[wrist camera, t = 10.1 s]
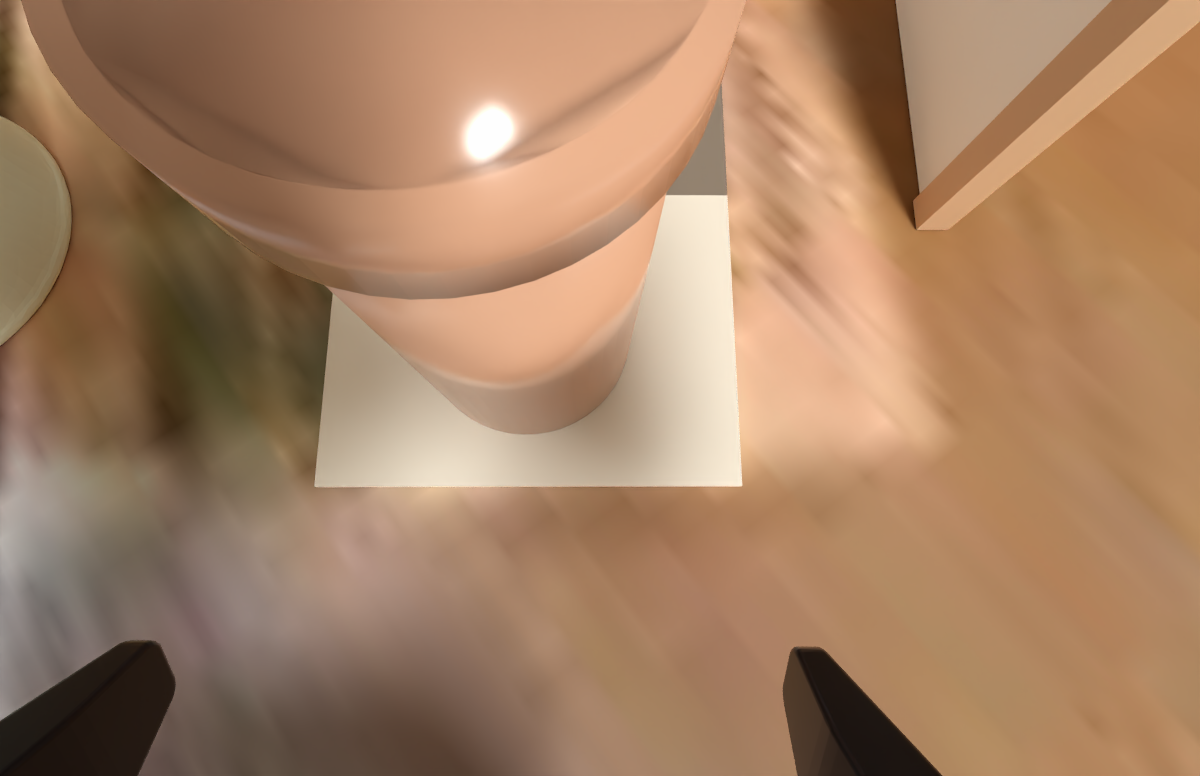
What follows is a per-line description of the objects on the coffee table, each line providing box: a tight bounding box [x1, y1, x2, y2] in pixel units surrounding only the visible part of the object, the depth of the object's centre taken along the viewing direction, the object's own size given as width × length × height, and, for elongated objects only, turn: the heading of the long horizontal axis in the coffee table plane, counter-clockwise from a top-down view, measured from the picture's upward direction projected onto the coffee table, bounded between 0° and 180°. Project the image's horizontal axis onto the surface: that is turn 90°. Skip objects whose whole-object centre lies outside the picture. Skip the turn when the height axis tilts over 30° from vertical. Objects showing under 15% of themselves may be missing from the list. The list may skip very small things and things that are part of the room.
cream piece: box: [314, 0, 1200, 487], centre depth 16 cm, size 21×19×9 cm
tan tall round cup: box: [21, 0, 746, 435], centre depth 12 cm, size 7×7×13 cm
